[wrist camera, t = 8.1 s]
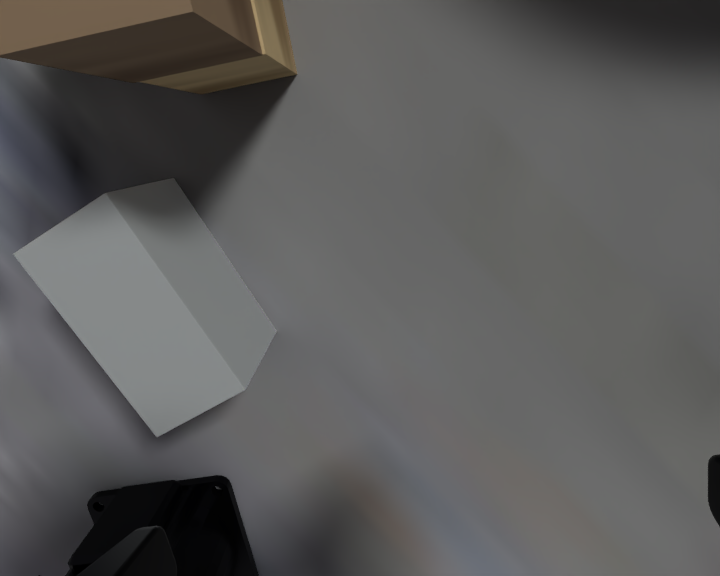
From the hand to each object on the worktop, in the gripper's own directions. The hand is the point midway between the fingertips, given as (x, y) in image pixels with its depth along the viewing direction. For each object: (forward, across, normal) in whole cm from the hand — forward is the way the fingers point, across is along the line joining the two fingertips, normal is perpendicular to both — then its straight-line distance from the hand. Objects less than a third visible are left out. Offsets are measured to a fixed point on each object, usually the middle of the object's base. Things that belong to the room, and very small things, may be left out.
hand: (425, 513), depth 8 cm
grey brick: (+12, +8, -2) cm, 15 cm away
